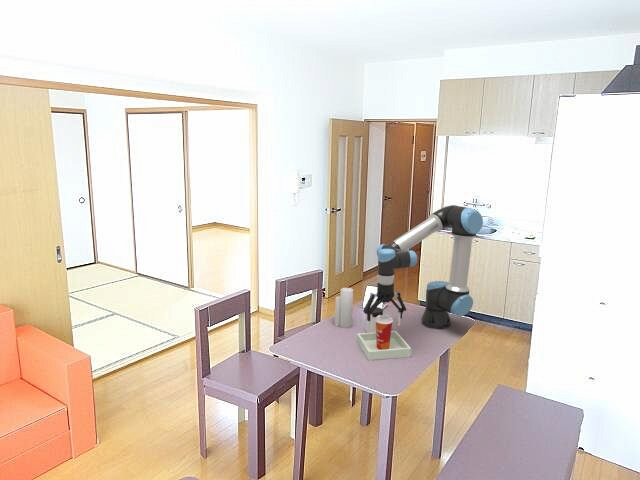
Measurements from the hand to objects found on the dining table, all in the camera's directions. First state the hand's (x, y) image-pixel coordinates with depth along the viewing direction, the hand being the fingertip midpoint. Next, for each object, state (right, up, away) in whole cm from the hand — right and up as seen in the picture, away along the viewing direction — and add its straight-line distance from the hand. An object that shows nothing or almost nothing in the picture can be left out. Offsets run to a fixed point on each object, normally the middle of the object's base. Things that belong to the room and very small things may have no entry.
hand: (384, 326), depth 221 cm
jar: (-2, -7, +22) cm, 23 cm away
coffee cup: (0, -11, +3) cm, 11 cm away
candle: (-18, -5, +31) cm, 36 cm away
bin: (0, -11, +2) cm, 11 cm away
